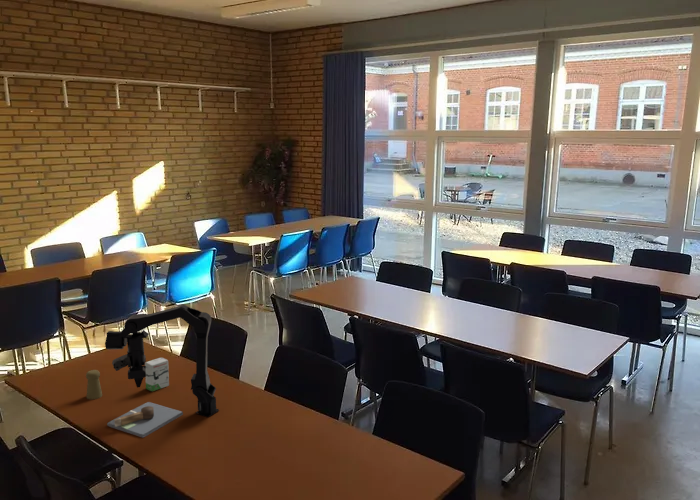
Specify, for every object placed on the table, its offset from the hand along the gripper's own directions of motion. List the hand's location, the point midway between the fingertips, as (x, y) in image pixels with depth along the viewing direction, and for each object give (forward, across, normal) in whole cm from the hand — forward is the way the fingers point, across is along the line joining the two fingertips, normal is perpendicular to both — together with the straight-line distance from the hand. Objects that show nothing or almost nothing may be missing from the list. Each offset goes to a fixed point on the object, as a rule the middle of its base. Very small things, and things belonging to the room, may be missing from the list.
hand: (138, 387), depth 219 cm
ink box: (+11, -24, +7) cm, 27 cm away
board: (+11, +6, +2) cm, 13 cm away
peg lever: (+9, +9, -2) cm, 13 cm away
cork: (+11, -22, -18) cm, 30 cm away
